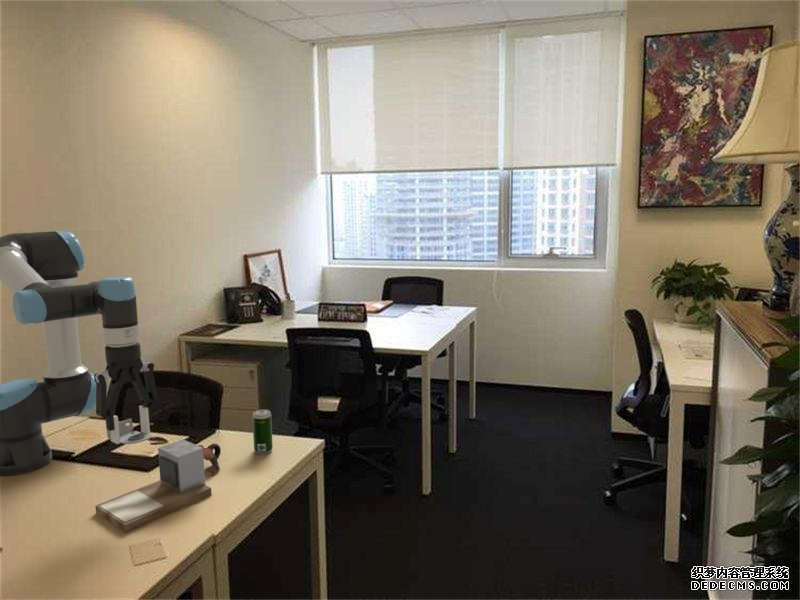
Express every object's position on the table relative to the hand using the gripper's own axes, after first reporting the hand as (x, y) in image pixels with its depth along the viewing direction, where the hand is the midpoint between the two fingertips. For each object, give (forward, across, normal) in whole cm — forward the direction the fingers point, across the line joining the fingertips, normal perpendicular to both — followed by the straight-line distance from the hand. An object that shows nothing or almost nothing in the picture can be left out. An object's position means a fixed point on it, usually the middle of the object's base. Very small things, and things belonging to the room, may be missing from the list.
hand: (131, 437), depth 148 cm
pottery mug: (+18, +22, +5) cm, 29 cm away
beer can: (+18, +40, +2) cm, 44 cm away
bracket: (+1, 0, 0) cm, 1 cm away
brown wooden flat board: (+18, +4, -2) cm, 18 cm away
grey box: (+16, +11, -2) cm, 20 cm away
